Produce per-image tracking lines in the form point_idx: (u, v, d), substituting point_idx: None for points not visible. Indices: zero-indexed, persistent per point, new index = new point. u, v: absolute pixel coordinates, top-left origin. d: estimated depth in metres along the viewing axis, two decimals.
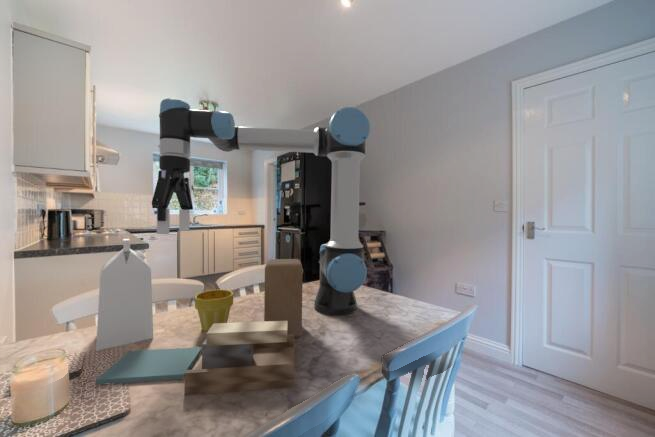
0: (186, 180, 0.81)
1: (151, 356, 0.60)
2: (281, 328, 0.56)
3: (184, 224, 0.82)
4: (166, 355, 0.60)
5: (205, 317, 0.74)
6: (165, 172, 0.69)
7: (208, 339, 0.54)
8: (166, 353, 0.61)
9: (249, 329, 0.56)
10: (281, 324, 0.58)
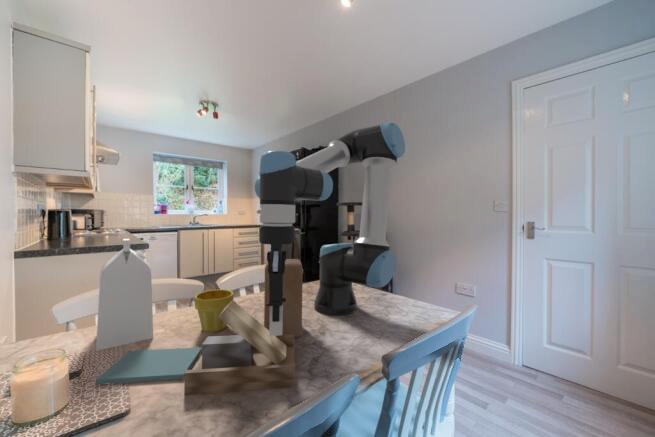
0: None
1: (151, 356, 0.60)
2: (281, 351, 0.56)
3: None
4: (166, 355, 0.60)
5: (205, 317, 0.74)
6: (277, 266, 0.52)
7: (224, 313, 0.54)
8: (166, 353, 0.61)
9: (258, 330, 0.56)
10: (282, 346, 0.58)
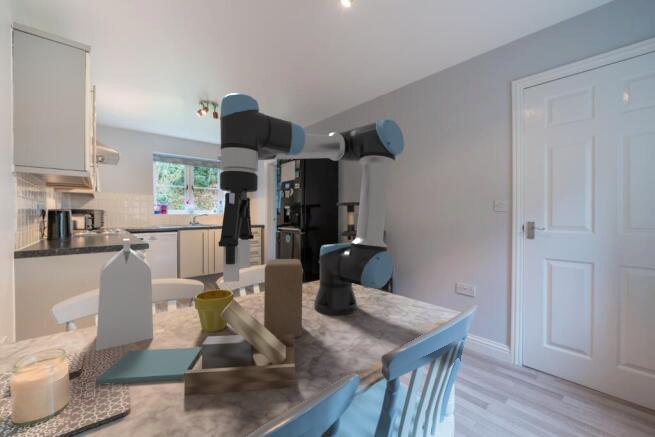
0: None
1: (151, 356, 0.60)
2: (281, 352, 0.56)
3: (244, 259, 0.63)
4: (166, 355, 0.60)
5: (205, 317, 0.74)
6: (234, 195, 0.50)
7: (225, 312, 0.54)
8: (166, 353, 0.61)
9: (258, 330, 0.56)
10: (281, 347, 0.58)
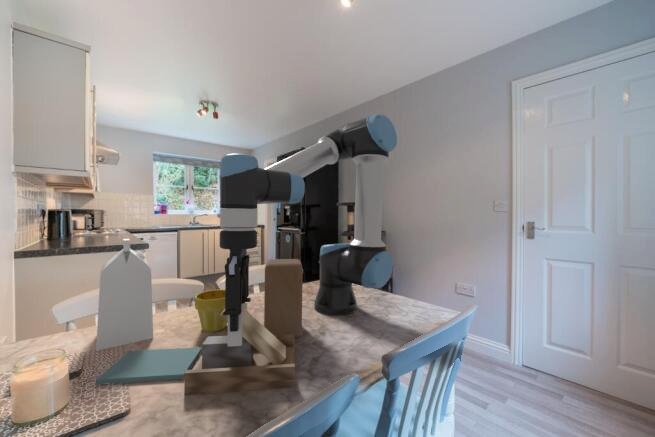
0: None
1: (151, 356, 0.60)
2: (281, 352, 0.56)
3: None
4: (166, 355, 0.60)
5: (205, 317, 0.74)
6: (234, 268, 0.50)
7: None
8: (166, 353, 0.61)
9: (258, 330, 0.56)
10: (281, 347, 0.58)
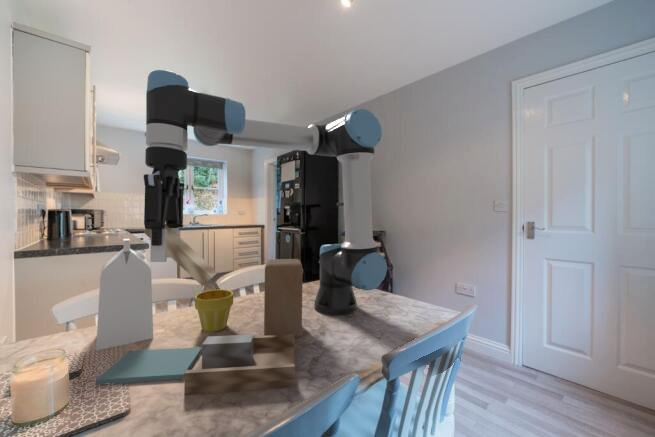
0: (181, 185, 0.62)
1: (151, 356, 0.60)
2: (207, 272, 0.56)
3: None
4: (166, 355, 0.60)
5: (205, 317, 0.74)
6: (153, 178, 0.50)
7: None
8: (166, 353, 0.61)
9: (185, 250, 0.56)
10: (211, 271, 0.58)
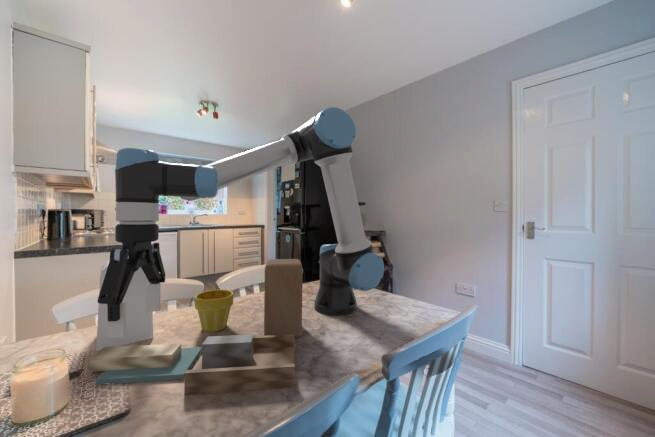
0: (155, 247, 0.63)
1: None
2: (166, 353, 0.56)
3: (153, 303, 0.64)
4: None
5: (205, 317, 0.74)
6: (119, 252, 0.51)
7: (89, 365, 0.54)
8: None
9: (134, 354, 0.56)
10: (171, 348, 0.59)
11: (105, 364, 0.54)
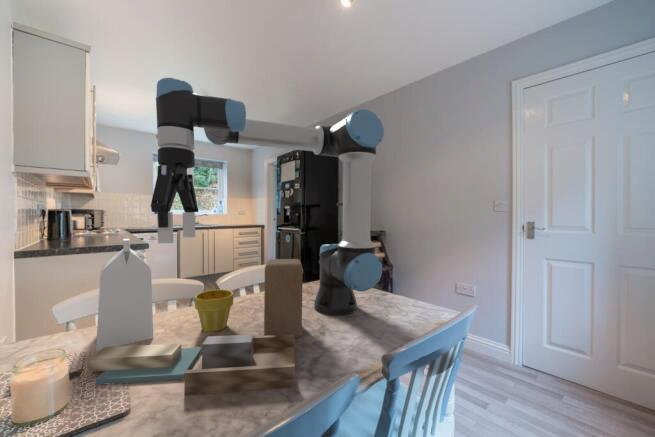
0: (190, 177, 0.69)
1: None
2: (166, 353, 0.56)
3: (189, 229, 0.70)
4: None
5: (205, 317, 0.74)
6: (166, 167, 0.56)
7: (89, 365, 0.54)
8: None
9: (134, 354, 0.56)
10: (171, 348, 0.59)
11: (105, 364, 0.54)
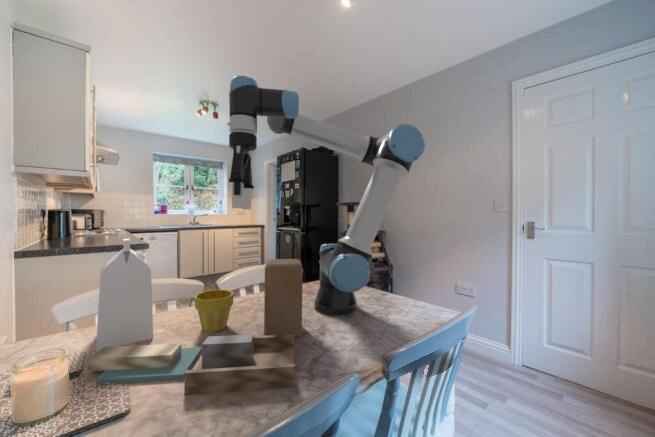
0: None
1: None
2: (166, 353, 0.56)
3: (246, 202, 0.83)
4: None
5: (205, 317, 0.74)
6: (240, 147, 0.70)
7: (89, 365, 0.54)
8: None
9: (134, 354, 0.56)
10: (171, 348, 0.59)
11: (105, 364, 0.54)
